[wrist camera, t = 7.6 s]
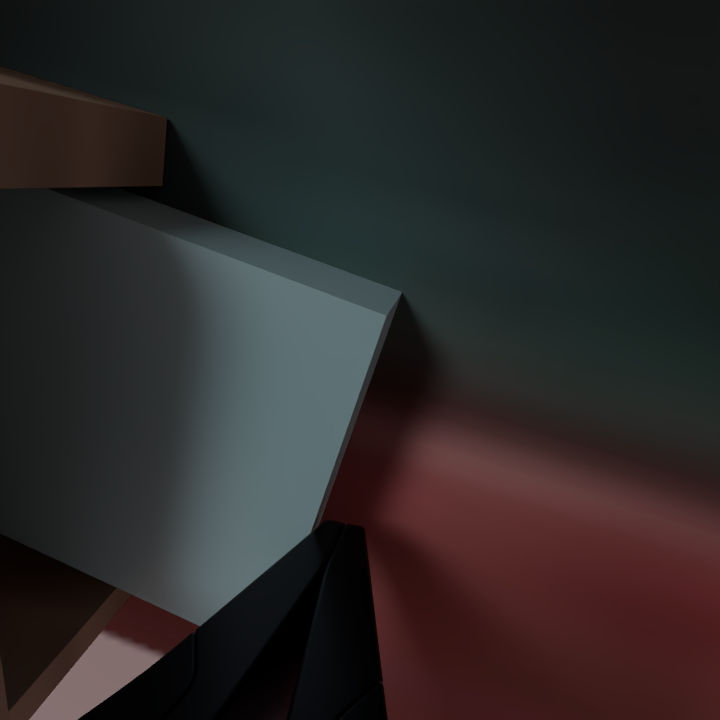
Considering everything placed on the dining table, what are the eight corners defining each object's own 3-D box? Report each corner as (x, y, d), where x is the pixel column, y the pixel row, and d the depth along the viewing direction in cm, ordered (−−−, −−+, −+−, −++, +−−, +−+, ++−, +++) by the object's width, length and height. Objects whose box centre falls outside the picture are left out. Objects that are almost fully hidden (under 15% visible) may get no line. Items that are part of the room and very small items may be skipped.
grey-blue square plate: (406, 286, 9) (386, 316, 7) (299, 582, 12) (266, 657, 10) (-22, 129, 10) (-149, 115, 8) (-2, 448, 13) (-84, 494, 11)
